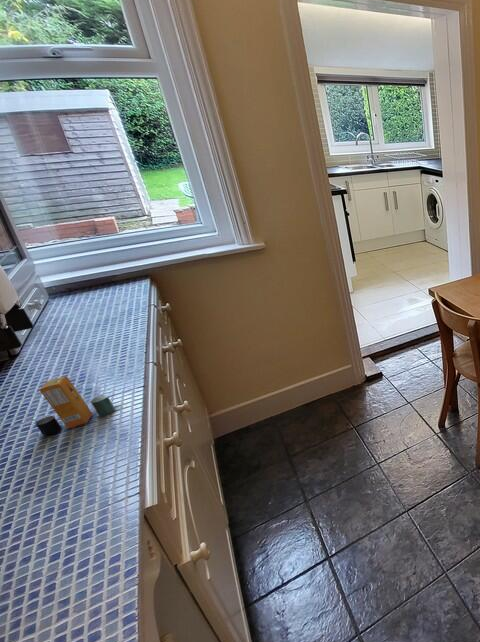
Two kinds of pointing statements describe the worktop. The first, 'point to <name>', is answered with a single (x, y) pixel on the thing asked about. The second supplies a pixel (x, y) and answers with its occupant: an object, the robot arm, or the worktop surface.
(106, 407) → the teal green cylinder
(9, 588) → the worktop surface
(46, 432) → the black cylinder
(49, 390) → the supplement box
